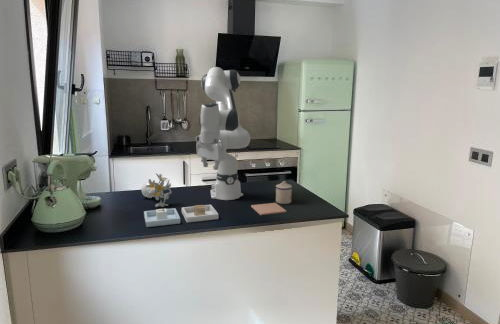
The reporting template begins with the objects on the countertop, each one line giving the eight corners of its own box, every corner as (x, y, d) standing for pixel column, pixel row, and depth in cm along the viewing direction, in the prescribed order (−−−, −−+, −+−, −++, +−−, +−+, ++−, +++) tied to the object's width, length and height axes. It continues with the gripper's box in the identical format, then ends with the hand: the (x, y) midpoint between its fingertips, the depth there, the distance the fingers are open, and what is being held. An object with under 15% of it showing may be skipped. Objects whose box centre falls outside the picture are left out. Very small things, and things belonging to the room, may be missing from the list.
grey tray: (181, 213, 184) (181, 207, 183) (211, 210, 189) (210, 204, 188) (186, 223, 170) (186, 217, 170) (218, 220, 175) (218, 214, 174)
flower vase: (143, 210, 209) (157, 211, 188) (133, 179, 207) (145, 176, 186) (164, 202, 216) (180, 202, 195) (154, 172, 214) (169, 169, 193)
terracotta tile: (251, 206, 195) (251, 205, 195) (275, 204, 200) (275, 202, 199) (260, 215, 182) (260, 213, 182) (286, 212, 187) (286, 210, 187)
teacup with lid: (294, 203, 201) (294, 182, 198) (278, 204, 198) (279, 184, 196) (286, 197, 212) (286, 177, 210) (271, 198, 210) (271, 178, 207)
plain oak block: (194, 214, 181) (193, 205, 180) (203, 213, 182) (202, 204, 181) (195, 217, 177) (195, 208, 176) (205, 216, 178) (205, 207, 177)
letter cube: (156, 218, 175) (156, 209, 174) (166, 217, 176) (165, 208, 175) (157, 221, 171) (157, 212, 170) (167, 220, 172) (166, 211, 171)
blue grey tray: (144, 217, 178) (144, 211, 177) (175, 213, 183) (175, 208, 182) (146, 228, 164) (146, 222, 164) (180, 224, 169) (180, 218, 169)
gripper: (228, 140, 163) (228, 170, 165) (205, 136, 179) (205, 164, 181) (216, 140, 159) (216, 172, 161) (193, 137, 175) (194, 165, 177)
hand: (210, 168), depth 171 cm, fingers open, 8 cm apart
